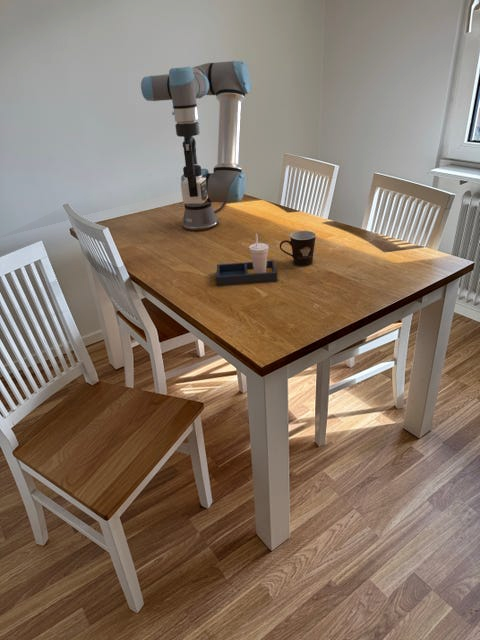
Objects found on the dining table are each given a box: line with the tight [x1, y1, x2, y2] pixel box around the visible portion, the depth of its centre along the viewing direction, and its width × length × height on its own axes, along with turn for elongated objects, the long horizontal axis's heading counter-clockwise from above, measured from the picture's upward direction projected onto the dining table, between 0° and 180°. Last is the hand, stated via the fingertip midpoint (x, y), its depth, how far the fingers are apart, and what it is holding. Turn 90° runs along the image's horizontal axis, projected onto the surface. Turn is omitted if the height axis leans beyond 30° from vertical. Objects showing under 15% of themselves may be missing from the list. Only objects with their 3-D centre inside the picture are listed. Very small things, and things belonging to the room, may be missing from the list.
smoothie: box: [248, 233, 270, 273], centre depth 147 cm, size 6×6×14 cm
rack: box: [215, 260, 278, 287], centre depth 151 cm, size 10×19×3 cm, turn 91°
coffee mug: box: [279, 230, 317, 267], centre depth 156 cm, size 12×9×10 cm
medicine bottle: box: [180, 164, 208, 204], centre depth 156 cm, size 7×7×12 cm
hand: (195, 193), depth 157 cm, fingers closed on medicine bottle, 8 cm apart
